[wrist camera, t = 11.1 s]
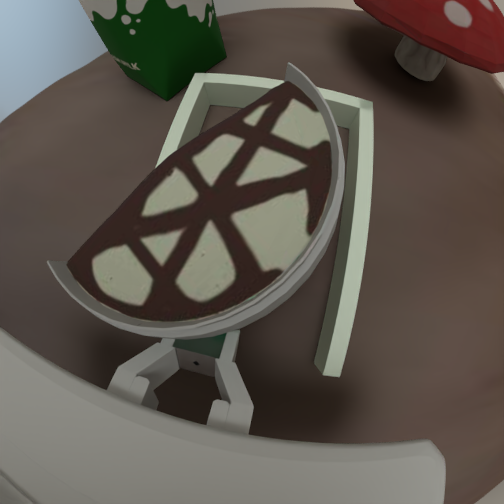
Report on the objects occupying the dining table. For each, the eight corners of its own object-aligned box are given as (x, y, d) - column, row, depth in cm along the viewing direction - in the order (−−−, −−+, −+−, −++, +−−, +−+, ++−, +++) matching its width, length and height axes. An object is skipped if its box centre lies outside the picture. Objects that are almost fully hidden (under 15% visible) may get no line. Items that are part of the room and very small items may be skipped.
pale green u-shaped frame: (136, 320, 17) (116, 324, 14) (201, 95, 19) (195, 72, 16) (328, 364, 16) (339, 377, 13) (361, 122, 18) (372, 102, 16)
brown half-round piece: (203, 356, 16) (138, 423, 7) (144, 283, 17) (39, 271, 7) (345, 231, 17) (426, 168, 7) (283, 165, 18) (299, 57, 8)
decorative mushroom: (453, 161, 18) (560, 69, 3) (302, 63, 20) (322, -80, 5) (468, 81, 19) (523, 11, 5) (360, 12, 21) (384, -74, 6)
